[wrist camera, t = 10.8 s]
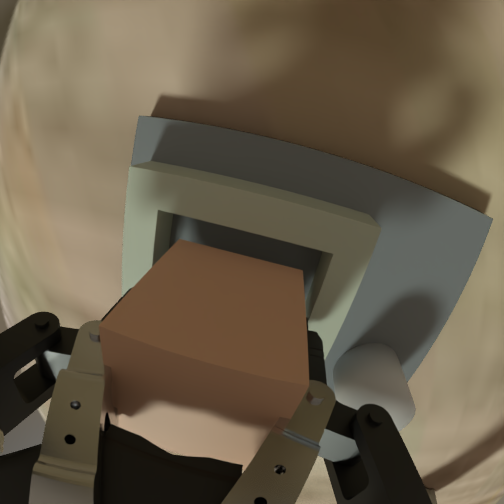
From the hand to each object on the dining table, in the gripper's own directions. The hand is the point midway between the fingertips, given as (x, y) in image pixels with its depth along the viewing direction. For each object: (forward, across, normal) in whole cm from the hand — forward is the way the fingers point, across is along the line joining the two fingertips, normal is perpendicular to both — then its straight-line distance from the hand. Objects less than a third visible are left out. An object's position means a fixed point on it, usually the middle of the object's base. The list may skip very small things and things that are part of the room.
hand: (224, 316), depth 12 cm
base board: (+4, -3, 0) cm, 5 cm away
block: (+1, 0, 0) cm, 1 cm away
